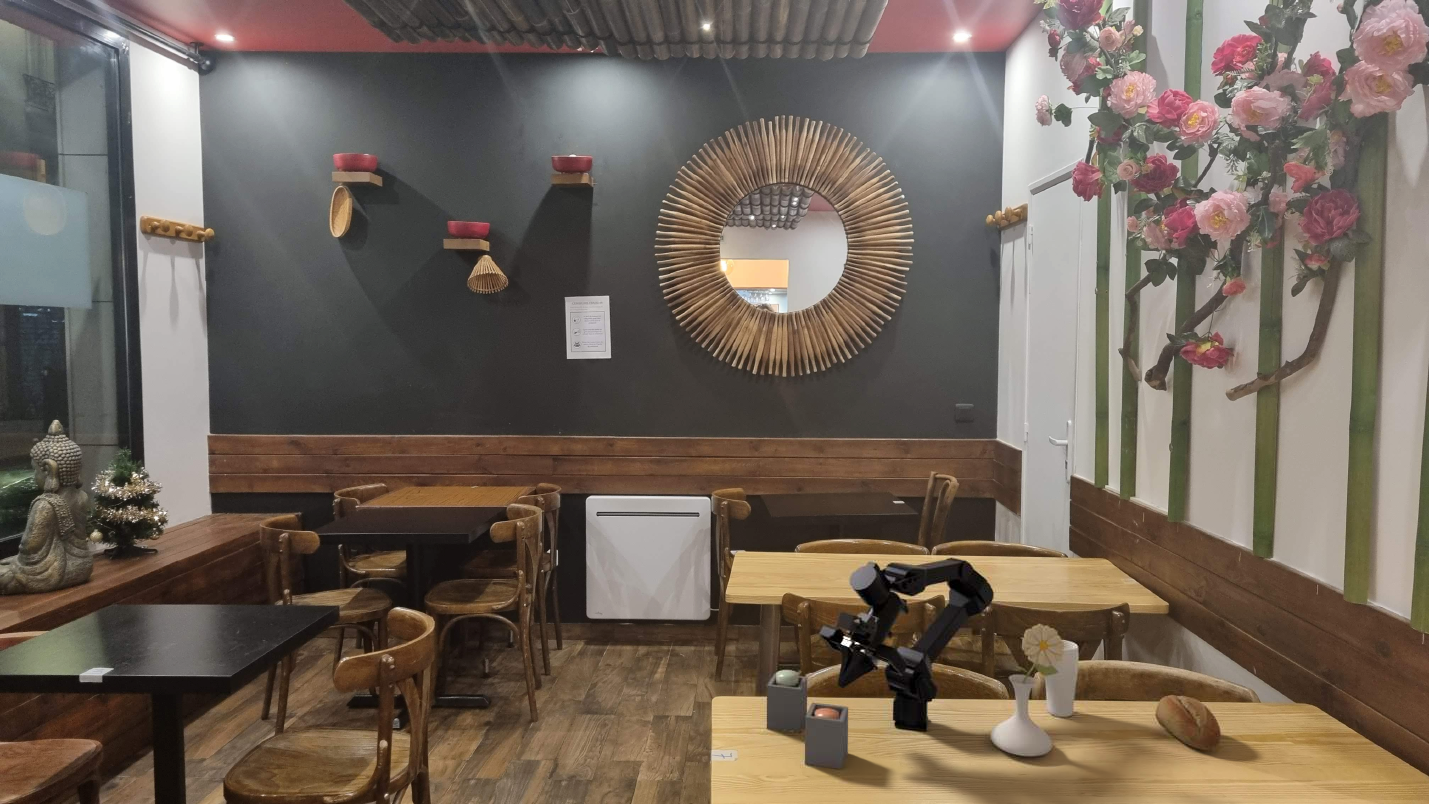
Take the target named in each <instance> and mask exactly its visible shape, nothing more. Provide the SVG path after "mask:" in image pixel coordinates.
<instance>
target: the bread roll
mask: <svg viewBox="0 0 1429 804" xmlns="http://www.w3.org/2000/svg"><path fill="white" fill-rule="evenodd" d="M1154 713H1155V714H1154V715H1155V718H1156V720H1157V722H1158V724H1159V725H1160V726H1161V727H1162V728H1163V729H1165V730H1166V731H1167V732H1169V733H1170V734H1171V735H1173V736H1174V737H1175V738H1176V739H1178V740H1179V741H1181V742H1182V743H1184V744H1185V745H1188V746H1190V747H1193V748H1194V749H1198V750H1201V751H1214V750H1216V748H1217V747H1218V745H1219V744H1220V742H1221V738H1222V737H1221V736H1222V734H1221V728H1220V724H1219V722H1218V720H1217V719H1216V716H1215V715H1214V713H1212V711H1211V710H1210V709H1209V708H1208V707H1207V705H1205V704H1204V703H1202V701H1199V700H1198V699H1196V698H1192V697H1189V696H1185V695H1175V694H1171V695H1167V696H1166V695H1165V696H1163V697H1162V698H1161V699H1160V700H1159V702H1158V703H1157V705H1156V709H1155V712H1154Z"/></svg>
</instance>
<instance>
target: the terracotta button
mask: <svg viewBox="0 0 1429 804" xmlns="http://www.w3.org/2000/svg"><path fill="white" fill-rule="evenodd" d="M815 717H822V718H830V719H837V720H839V712H838V711H836V710H834V709H830V708H821V709H818V710H816V711H815Z"/></svg>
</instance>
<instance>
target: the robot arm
mask: <svg viewBox="0 0 1429 804" xmlns="http://www.w3.org/2000/svg"><path fill="white" fill-rule="evenodd" d="M943 583H946V585H947V587H948V588H949V591H948V603H947V604H946V605H945V607H944V608H943V609H942V611H941V612H940V613H939V614H938V615H937V617H936V618H935V619H934V621H933V622H932V623H931V624H930V625H929V626H928V628H927V629H926V630H925V632H923V634H922V635H921V637H919V639H918V640H917V641H916V643H915V644H914V645H913V646H912V647H910V648H909V647H906V646H903V645H900V646H899V647H898V648H896V647H892V646H890V645H887V644H885V640H886V638H889V639H892V636H893V635H894V634H893V632H892V631H891V630H892V628H893V627H894V624H895V622H896V621H897V619H898V617H899V615H900V614H901V613H903V614H906V615H908V614H909V613H910V612H909V607H908V601H907V599H904V598H902V597H900V596H899V594H901V595H903V596H908V597H916V596H918V595H919V594H921V593H923V592H925V590H926V588H927V587H928V586H933V585H937V584H938V585H939V584H943ZM849 586H850V587H851V588H852V589H853V591H854V592H855V593H856V594H857V595H858V596H859V598H860V599H861V600H862V602H863V603H864V604H865V605H866V606H868V608H867V609H866V611H865V612H862V611H861V612H860V613H858V615H855V614H851V613H849V612H846V611H843V610H840V612H839V615H838V618H837V621H836V624H835V626H833V625H830V624H825V625H823V627H822V628H821V630H820V631H819V633H818V636H820V638H821V639H822V640H823V641H824V642H825V643H826V645H828V647H829V648H830V649H832V650H833V651H836V652H839V653H841V664H840V668H839V675H838V679H837V686H838V687H839V688H841V689H845V688H846V687H848V686H849V685H851V684H852V683H854V682H855V681H856V680H858V679H860V678H861V677H863V676H865V675H867V674H869V673H871V672H872V671H878V670H879V667H878V664H879V663H880V662H883V663H887V664H886V666H885V669H884V675H885V679H886V683H887V687H888V690H889V691H891V692H894V693H896V694H895V696H894V697H893V699H892V700H893V701H892V720H893V722H894V727H895V728H898V727H900V728H899V729H906V730H914V731H920V732H921V731H923V732H926V731H927V730H928V726H929V725H928V724H929V716H928V706H929V705H928V704H929V703H931V702H933V699H935V698H936V696H937V692H938V687H937V686H936V685H935V683H934V682H933V681H932V677H933V675H932V674H933V673H932V672H933V663H934V662H935V660H936V659H937V658H938V657H939V656H940V655H941V653H942V651H943V650H944V649H946V646H948V644H949V643H950V641H951V640H952V639H953V638H954V636H955V635H956V634H957V632H958V631H959V630H960V629H961V627H962V626H963V625H964V624H965V622H966V621H967V620H968V619H969V618H973V617H974V616H976V615H980V614H982V613H983V612H984V611H985V610H986V609H987V608H988V607H989V606H990V605H991V603H992V602H993V600H994V596H995V594H994V590H993V587H992V586H991V583H989V582H988V580H987V579H986V578H985V577H984V576H983V575H982V574H980V573H979V572H978V571H977V570H975V568H974V567H973V566H972V564H971V563H970V562H968V561H967V560H964V559H960V558H957V557H956V558H955V557H949V558H946V559H944V560H942V559H941V560H937V561H933V562H926V563H921V564H917V565H915V564H907V563H902V562H890V563H887V565H885V567H884V568H882V569H881V567H880V566H879V564H878V563H877V562H872V561H868V562H867V563H866V565H864V566H860V567H859V568H857V569H856V570H855V571H852V573H851V574H850V577H849ZM841 628H842V629H845V630H846V631H845V632H844V631H843V630H842V629H841ZM845 633H846V634H847V635H848V636H850V637H851V638H849V637H848V636H847V635H846V634H845Z"/></svg>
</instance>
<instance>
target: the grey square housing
mask: <svg viewBox="0 0 1429 804" xmlns="http://www.w3.org/2000/svg"><path fill="white" fill-rule="evenodd" d="M821 708H830V709H834V710H836V711H838V712H839V720H837V719H830V718H822V717H815V711H816V710H818V709H821ZM848 747H849V707H848V706H844V705H843V706H842V705H835V704H828V703H827V704H826V703H820V702H811V704H810V706H809V708H808V709H807V714H806V716H805V724H804V765H806V766H814V767H821V768H827V767H829V768H828V769H835V770H841V771H842V770H843V768H844V766H843V765H845V763H844V762H846V759H847V757H848V756H847V755H848V752H849V748H848Z"/></svg>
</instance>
